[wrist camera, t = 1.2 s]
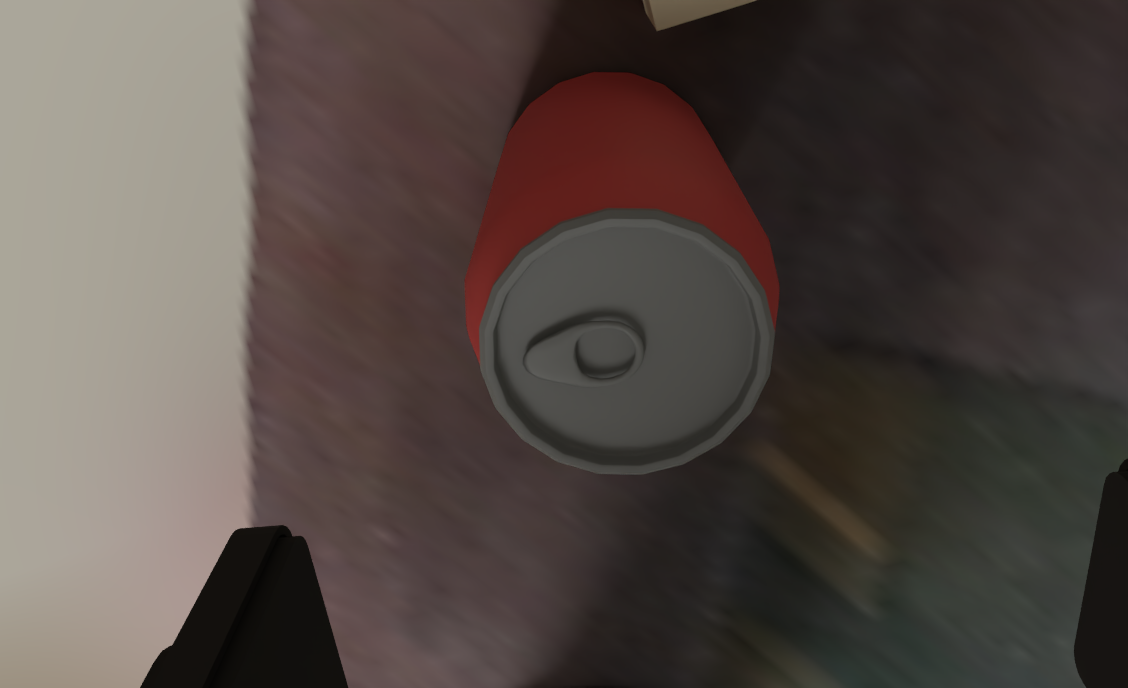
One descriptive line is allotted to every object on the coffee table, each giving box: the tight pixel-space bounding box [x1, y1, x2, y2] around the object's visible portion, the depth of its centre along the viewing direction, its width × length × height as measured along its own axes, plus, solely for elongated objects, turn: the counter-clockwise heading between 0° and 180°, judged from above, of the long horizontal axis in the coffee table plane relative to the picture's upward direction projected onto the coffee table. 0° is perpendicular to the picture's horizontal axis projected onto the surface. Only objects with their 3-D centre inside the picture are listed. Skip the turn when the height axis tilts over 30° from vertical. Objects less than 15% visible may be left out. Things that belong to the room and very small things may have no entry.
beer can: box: [465, 72, 780, 475], centre depth 23 cm, size 7×7×12 cm
